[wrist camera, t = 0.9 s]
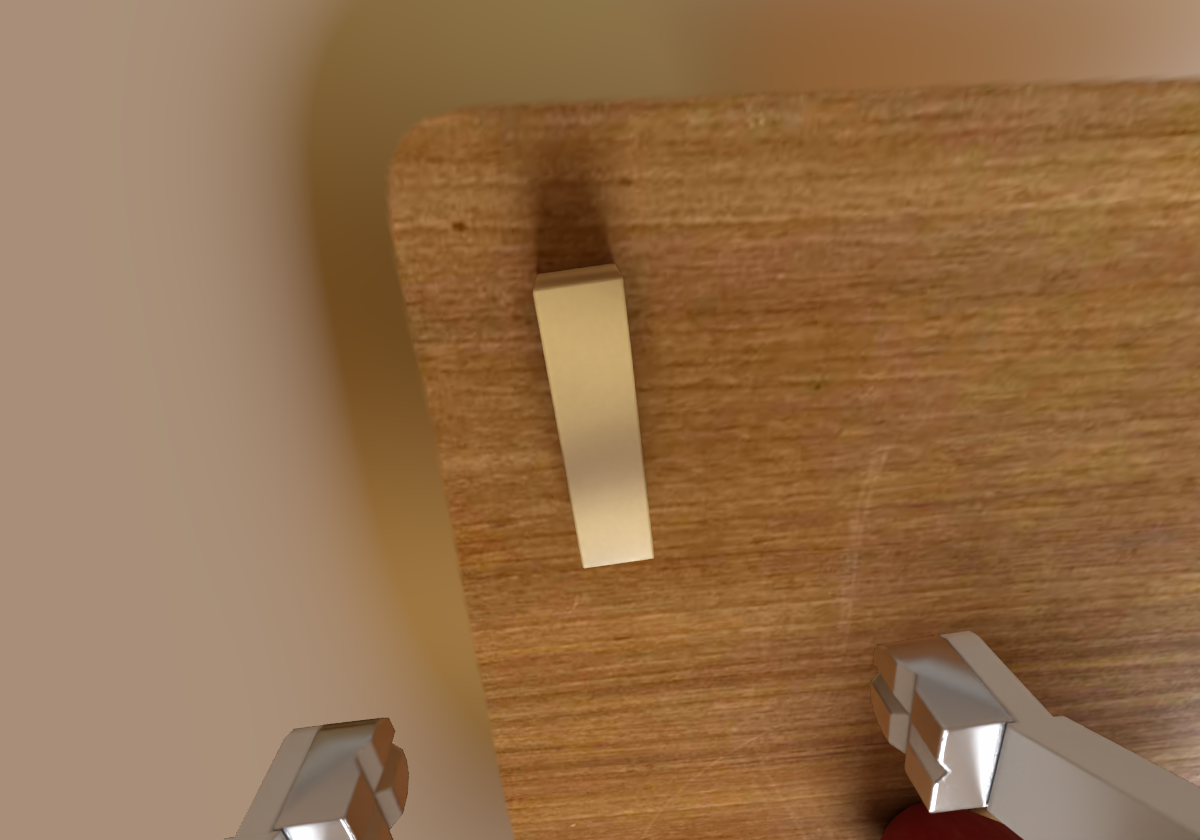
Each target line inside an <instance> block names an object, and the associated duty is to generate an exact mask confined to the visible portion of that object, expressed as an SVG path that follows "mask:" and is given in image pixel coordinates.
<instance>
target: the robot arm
mask: <svg viewBox="0 0 1200 840" xmlns="http://www.w3.org/2000/svg"><path fill="white" fill-rule="evenodd" d="M873 663H874V664H875V666H876V667H877V669H878V671H879V672H878V674H877V675H876V676H875V677H874V678H873V679H872V680H871V691H870V697H871V701H872V706H873V710H874V714H875V716H876V719H877V721H878V724H879V726H880V728H881V730H882V732H883V733H884V735H885V737H886V739H887V741H888V742H889V743H890V744H892V745H893V746H894V747H896V748H897V749H899V750H900V751H902V752H903V753H905V754H906V759H905V767H904V770H905V772H906V774H907V775H908V777H909V779H910V780H911V782H912V784H913V785H914V787H915V789H916V791H917V792H918V794H919V796H920V797H921V799H922V801H923V803H924V804H925V806H926V808H927V809H928V811H929V813H936V812H944V811H953V810H962V809H970V808H979V807H987V811H989V812H990V813H991V814H992V815H994V816H995V817H996V818H997V819H999V820H1000V821H1001V822H1002V823H1004V824H1005V825H1006V826H1007V827H1009V828H1010V829H1011V830H1012V831H1014V832H1015V833H1016V834H1017V835H1019V836H1020V837H1021V838H1022V839H1023V840H1200V787H1198V786H1196V785H1195V784H1193V783H1191V782H1189V781H1187V780H1185V779H1183V778H1181V777H1179V776H1177V775H1176V774H1174V773H1172V772H1170V771H1168V770H1166V769H1164V768H1162V767H1160V766H1158V765H1156V764H1155V763H1153V762H1151V761H1149V760H1147V759H1145V758H1143V757H1141V756H1139V755H1137V754H1135V753H1134V752H1132V751H1130V750H1128V749H1126V748H1124V747H1122V746H1120V745H1118V744H1116V743H1114V742H1113V741H1111V740H1109V739H1107V738H1105V737H1103V736H1101V735H1099V734H1097V733H1095V732H1094V731H1092V730H1090V729H1088V728H1086V727H1084V726H1082V725H1080V724H1078V723H1076V722H1074V721H1073V720H1071V719H1069V718H1067V717H1065V716H1055V717H1053V716H1052V715H1051V714H1050V713H1049V712H1048V711H1047V709H1046V708H1045V707H1044V706H1043V705H1042V704H1041V703H1040V702H1039V701H1038V700H1037V699H1036V698H1035V696H1034V695H1033V694H1032V693H1031V692H1030V691H1029V690H1028V689H1027V688H1026V687H1025V686H1024V685H1023V683H1022V682H1021V681H1020V680H1019V679H1018V678H1017V677H1016V676H1015V675H1014V674H1013V673H1012V672H1011V671H1010V669H1009V668H1008V667H1007V666H1006V665H1005V664H1004V663H1003V662H1002V661H1001V660H1000V659H999V658H998V656H997V655H996V654H995V653H994V652H993V651H992V650H991V649H990V648H989V647H988V646H987V645H986V643H985V642H984V641H983V640H982V639H981V638H980V637H979V636H978V635H977V634H975V633H973V632H971V631H963V632H956V633H950V634H943V635H938V636H935V635H933V636H926V637H920V638H914V639H908V640H901V641H895V642H889V643H883V644H878V645H877V646H876V648H875V649H874V654H873ZM394 733H395V730H394V728H393V725H392V723H391V721H390V719H389V718H377V719H369V720H360V721H352V722H343V723H335V724H327V725H320V726H312V727H305V728H297V729H294V730H293V731H291V732H290V733H289V734H288V735H287V736H286V737H285V739H284V740H283V743H282V744H281V746H280V749H279V750H278V752H277V755H276V756H275V758H274V760H273V763H272V764H271V766H270V768H269V770H268V772H267V774H266V776H265V778H264V780H263V782H262V784H261V786H260V788H259V790H258V792H257V794H256V796H255V798H254V800H253V802H252V804H251V806H250V808H249V810H248V812H247V813H246V815H245V817H244V819H243V822H242V823H241V825H240V828H239V829H238V831H237V833H236V835H235V837H230V838H225V839H224V840H393V838H392V835H391V833H390V831H389V830H390V829H391V828H392V826H393V825H394V824H395V823H396V821H397V820H398V819H399V818H400V817H401V815H402V814H403V811H404V807H405V803H406V799H407V794H408V779H409V772H408V765H407V759H406V757H405V754H404V752H403V749H401V748H399V747H398V746H396V745H394V744H393V743H392V740H393V737H394Z"/></svg>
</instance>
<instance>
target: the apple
mask: <svg viewBox="0 0 1200 840" xmlns="http://www.w3.org/2000/svg"><path fill="white" fill-rule="evenodd" d="M880 840H1023V839H1022V838H1021V837H1020V836H1019V835H1017V834H1016V833H1015V832H1014V831H1012V830H1011V829H1010V828H1009V827H1007V826H1006V825H1005V824H1003V823H1000V822H998V821H995V820H992V819H990V818H987V817H985V816H982V815H979V814H977V813H974V812H971V811H969V810H966V809H962V810H953V811H944V812H936V813H929V811H928V809H927V808H926V806H925V804H924V803H923V802H920V803H917V804H914V805H911V806H909V807H908V808H906V809H905V810H903V811H902V812H901V813H899V814H898V815H896V817H895V818H894V819H893V820H892V821H891V822H890V823H889V824H888V825H887V827H886V829H885V831H884V833H883V835H882V837H881V839H880Z"/></svg>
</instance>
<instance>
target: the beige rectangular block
mask: <svg viewBox="0 0 1200 840" xmlns="http://www.w3.org/2000/svg"><path fill="white" fill-rule="evenodd" d="M533 297H534V303H535V308H536V314H537V319H538V325H539V330H540V336H541V342H542V347H543V353H544V358H545V364H546V369H547V375H548V380H549V386H550V391H551V397H552V402H553V408H554V413H555V419H556V424H557V430H558V435H559V441H560V446H561V452H562V457H563V463H564V468H565V474H566V479H567V485H568V490H569V496H570V501H571V507H572V512H573V518H574V523H575V529H576V535H577V540H578V546H579V551H580V557H581V562H582V566H583V568H590V567H597V566H604V565H610V564H617V563H624V562H631V561H638V560H645V559H652V558H654V549H653V541H652V532H651V523H650V514H649V505H648V496H647V487H646V478H645V469H644V460H643V451H642V442H641V434H640V425H639V416H638V407H637V398H636V389H635V380H634V371H633V362H632V353H631V344H630V335H629V326H628V318H627V309H626V300H625V291H624V282H623V278H622V276H621V274H620V272H619V271H618V269H617V267H616V265H615V264H613V263H612V264H605V265H598V266H591V267H584V268H577V269H570V270H563V271H556V272H550V273H543V274H538V275H537V276H536V280H535V284H534V288H533Z"/></svg>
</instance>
